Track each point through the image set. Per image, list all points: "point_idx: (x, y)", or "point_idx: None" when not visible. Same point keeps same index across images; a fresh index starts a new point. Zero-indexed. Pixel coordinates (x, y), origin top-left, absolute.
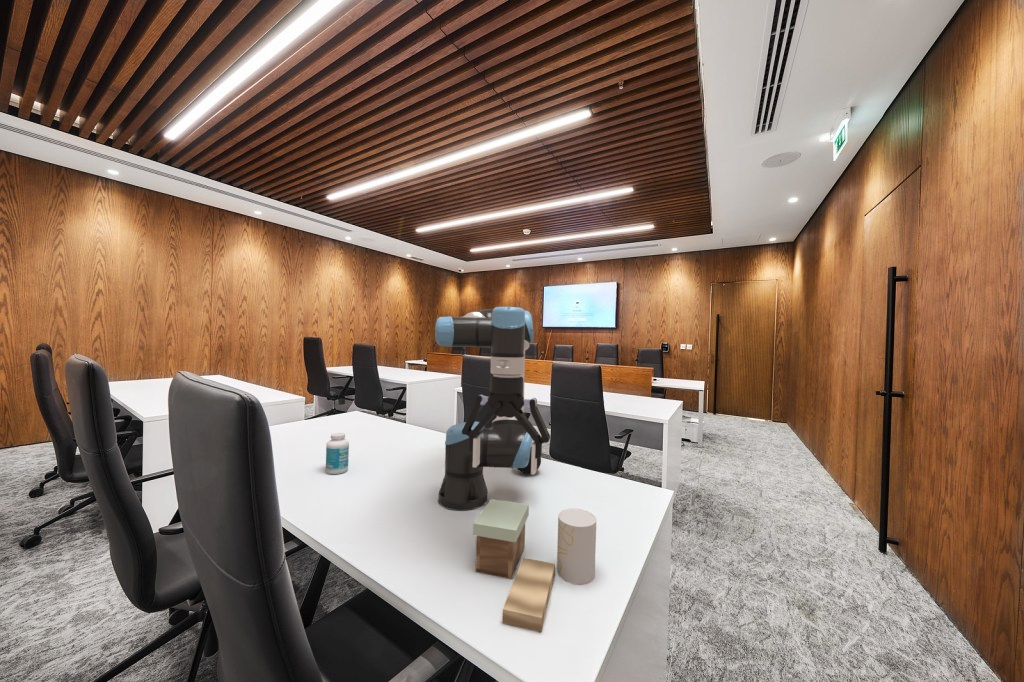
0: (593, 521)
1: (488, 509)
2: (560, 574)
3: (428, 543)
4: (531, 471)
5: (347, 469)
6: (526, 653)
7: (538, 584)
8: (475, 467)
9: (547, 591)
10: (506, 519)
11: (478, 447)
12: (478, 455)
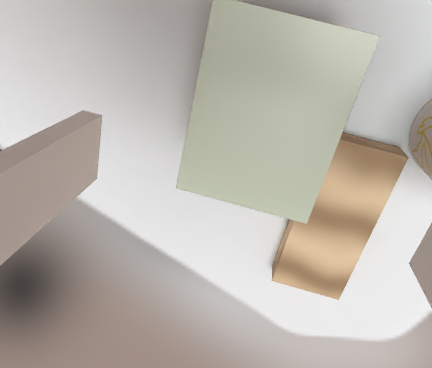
0: None
1: (211, 93)
2: (413, 156)
3: (69, 28)
4: (416, 275)
5: None
6: (307, 312)
7: (348, 227)
8: (95, 179)
9: (363, 245)
10: (278, 162)
11: (37, 187)
12: (70, 158)
